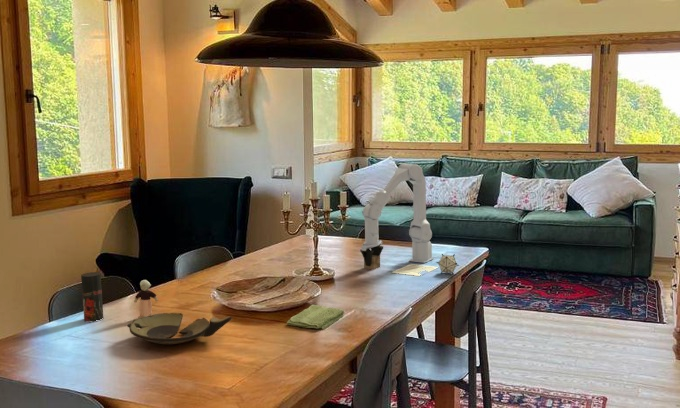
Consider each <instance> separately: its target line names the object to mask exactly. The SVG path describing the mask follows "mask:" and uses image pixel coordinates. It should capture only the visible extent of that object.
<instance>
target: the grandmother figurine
mask: <svg viewBox="0 0 680 408" xmlns="http://www.w3.org/2000/svg"><path fill="white" fill-rule="evenodd" d="M139 285H140V286H139V287H140V289H141V290H139V292H137V293H136V295H135V297H134V300H133V303H135V304H136V303H137V302H138V301H139V315H138V317H137V319H138V318H139V319H140V318H143V317H147V316H151V315H153V314H152V313H153V312H152V311H153V309H152V306H153V305H152V299H154V301H155V302H158V301H159V299H158V296H157V294H156V293H155V292H153V291H152V290H149V289H150V287H151V283H150V282H149V281H148V280H147V279H143V280H141V281H140V282H139ZM151 298H152V299H151ZM139 299H140V300H139Z"/></svg>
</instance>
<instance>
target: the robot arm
mask: <svg viewBox="0 0 680 408" xmlns="http://www.w3.org/2000/svg"><path fill="white" fill-rule="evenodd" d="M407 181H408V182H410V183H411V184H412V193H413V194H412V196H413V197H412V198H413V199H412V205H413V209H412V211H413V219H412V221H411V222H410V226H409V229H408V234H409V237H410V238H411V242H412V247H411V248H412V249H411V251H412V252H411V253H412V254H411V255H412V257H411V259H409V260H408V262H415V263H422V264H425V263H428V262H429V261H430V262H431V261H432V260H434V258H435V257H433V256H432V255H433V250H432V249H433V246H432V242H431V241H430V240H431V238H432V237H433V232H432V229H431V223H430V222H429V221H428V220H427V192H426V191H427V190H426V183H427V182H426V181H427V180H426V177H425V175H424V173H423V167H421V166H420V165H418V164H416V163H413V164H412V163H405V162H403V163H400V164H399V165H398V167H397V168H396V169H395V171H394V174H393V176H392V177H391V178H390V180H389V181H388V183H387V184H386V186H385V187H384V188H383V190H379V191H377V192H376V193H375V196H374V197H373V198H372V200H371V201H369V204H366V205H365V206H364V207H363V210H362V211H361V214H362V216H363V219H364V242H362V245H361V246H360V253H361V255H362V257H363V262H364V261H365V264H366V266H371V260H372V255H376V256H380V257H381V254H382V252H383V249H384V246H383V240H381V239H379V218H380V217H381V216H382V211H383V209H384V208H385V206H386V205H387V204H388V202H390V200H391V194H392V193H393V192H394V191H395V190H396V189H397V188H398V187H399V185H400V184H401V183H402V182H407Z"/></svg>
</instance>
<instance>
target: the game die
mask: <svg viewBox="0 0 680 408" xmlns="http://www.w3.org/2000/svg"><path fill="white" fill-rule="evenodd" d="M436 264H438V266H439V269H440V271H441V272H440V275H442V274H444V273H445V274H448V273H449V274H452V275H454V271H455V269H456V268H457V267H459V266H460V265H459V264H458V263H457V261H456V258H455V253H454V254H453V255H447V254H445V255H444V253H441V257H440V258H439V261H436Z"/></svg>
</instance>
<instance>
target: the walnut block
mask: <svg viewBox="0 0 680 408" xmlns="http://www.w3.org/2000/svg"><path fill="white" fill-rule="evenodd" d="M363 268H364V269H366V270H377V269H379V268H381V255H380V256H376V255H372V260H371V266H366V264H365V261H364V260H363ZM376 268H377V269H376Z"/></svg>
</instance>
